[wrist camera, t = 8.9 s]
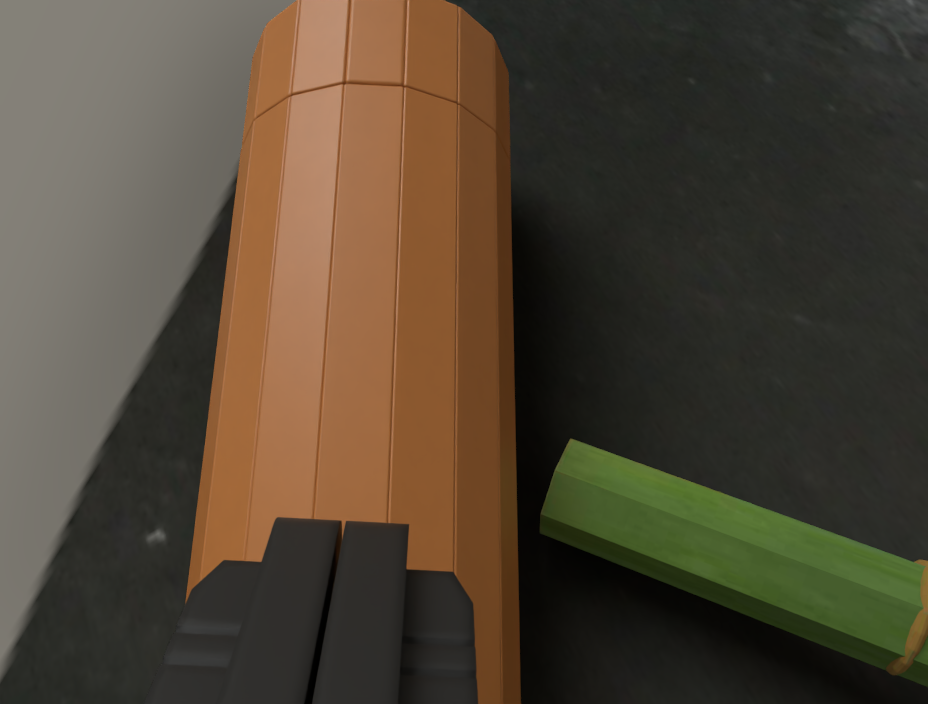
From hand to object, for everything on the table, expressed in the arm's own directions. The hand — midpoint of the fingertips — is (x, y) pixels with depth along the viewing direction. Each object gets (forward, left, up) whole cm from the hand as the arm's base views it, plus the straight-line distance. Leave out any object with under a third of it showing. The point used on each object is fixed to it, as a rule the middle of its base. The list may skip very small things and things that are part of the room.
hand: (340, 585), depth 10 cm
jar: (-3, -1, -6) cm, 7 cm away
